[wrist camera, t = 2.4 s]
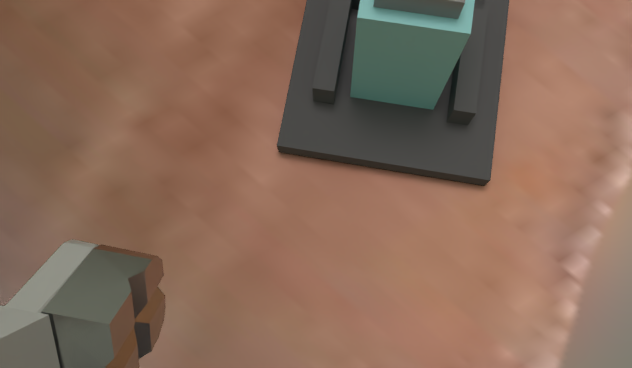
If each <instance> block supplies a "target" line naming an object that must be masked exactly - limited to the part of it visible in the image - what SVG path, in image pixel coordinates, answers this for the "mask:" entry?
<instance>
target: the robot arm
mask: <svg viewBox="0 0 632 368" xmlns="http://www.w3.org/2000/svg"><path fill="white" fill-rule="evenodd" d="M163 276H164V273H163V263H162V259H161V258H159V257H158V256H155V255H150V254H145V253H140V252H135V251H130V250H125V249H121V248H116V247H111V246H106V245H97V244H93V243H88V242H83V241H78V240H74V239H72V240H69V241H67V242H64V243H63V244H62V245H61V246H60V247H59V248H58V249H57V250H56V251H55V252H54V253H53V255H52V256H51V257H50V258H49V259H48V260H47V261H46V262H45V263H44V264H43V265H42V266H41V267H40V269H39V270H38V271H37V272H36V273H35V274H34V275H33V276H32V277H31V278H30V279H29V280H28V282H27V283H26V284H25V285H24V286H23V287H22V288H21V289H20V290H19V291H18V292H17V293H16V294H15V296H14V297H13V298H12V299H11V300H10V301H9V302H8V303H7V304H6V305H5V306H1V305H0V368H139V358H141V357H143V356H144V355H146V354H148V353H149V352H151V351H152V349H153V347H154V345H155V343H156V341H157V339H158V337H159V334H160V331H161V328H162V324H163V321H164V315H165V295H164V294H163V292H162V291H161V290H160V289H159V288H158V284H159V283H160V281H161V279H162V277H163Z"/></svg>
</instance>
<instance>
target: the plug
mask: <svg viewBox="0 0 632 368" xmlns="http://www.w3.org/2000/svg"><path fill="white" fill-rule="evenodd" d="M474 3H475V0H360V4H359V10H358V15H357V24H356V36H355V47H354V58H353V70H352V81H351V92H350V97H354V98H360V99H367V100H373V101H380V102H386V103H393V104H399V105H405V106H412V107H418V108H425V109H431V110H433V109H434V107H435V105H436V103H437V101H438V99H439V97H440V95H441V93H442V91H443V89H444V87H445V85H446V83H447V81H448V79H449V77H450V75H451V73H452V71H453V69H454V67H455V65H456V63H457V61H458V59H459V57H460V55H461V53H462V51H463V49H464V47H465V45H466V43H467V40H468V38H469V36H470V34H471V28H472V20H473V11H474Z"/></svg>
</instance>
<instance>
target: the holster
mask: <svg viewBox="0 0 632 368" xmlns="http://www.w3.org/2000/svg"><path fill="white" fill-rule="evenodd" d="M359 4H360V0H307V2H306V7H305V12H304V17H303V22H302V27H301V31H300V36H299V41H298V46H297V51H296V56H295V60H294V65H293V70H292V75H291V80H290V85H289V89H288V94H287V99H286V104H285V109H284V114H283V119H282V123H281V128H280V133H279V138H278V143H277V147H278V150H279V152H283V153H289V154H295V155H301V156H307V157H313V158H319V159H326V160H332V161H338V162H344V163H350V164H356V165H362V166H368V167H374V168H380V169H386V170H392V171H399V172H405V173H411V174H417V175H423V176H429V177H435V178H441V179H447V180H453V181H459V182H465V183H471V184H478V185H485V184H487V183H488V182H489V181H490V178H491V169H492V159H493V149H494V140H495V130H496V121H497V111H498V102H499V92H500V83H501V73H502V64H503V54H504V45H505V35H506V25H507V16H508V6H509V0H475V3H474V11H473V20H472V28H471V34H470V36H469V38H468V40H467V43H466V45H465V47H464V49H463V51H462V53H461V55H460V57H459V59H458V61H457V63H456V65H455V67H454V69H453V71H452V73H451V75H450V77H449V79H448V81H447V83H446V85H445V87H444V89H443V91H442V93H441V95H440V97H439V99H438V101H437V103H436V105H435V107H434V109H433V110H431V109H425V108H418V107H412V106H405V105H399V104H393V103H386V102H380V101H373V100H367V99H360V98H354V97H350V92H351V81H352V70H353V58H354V47H355V36H356V24H357V15H358V10H359Z"/></svg>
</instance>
